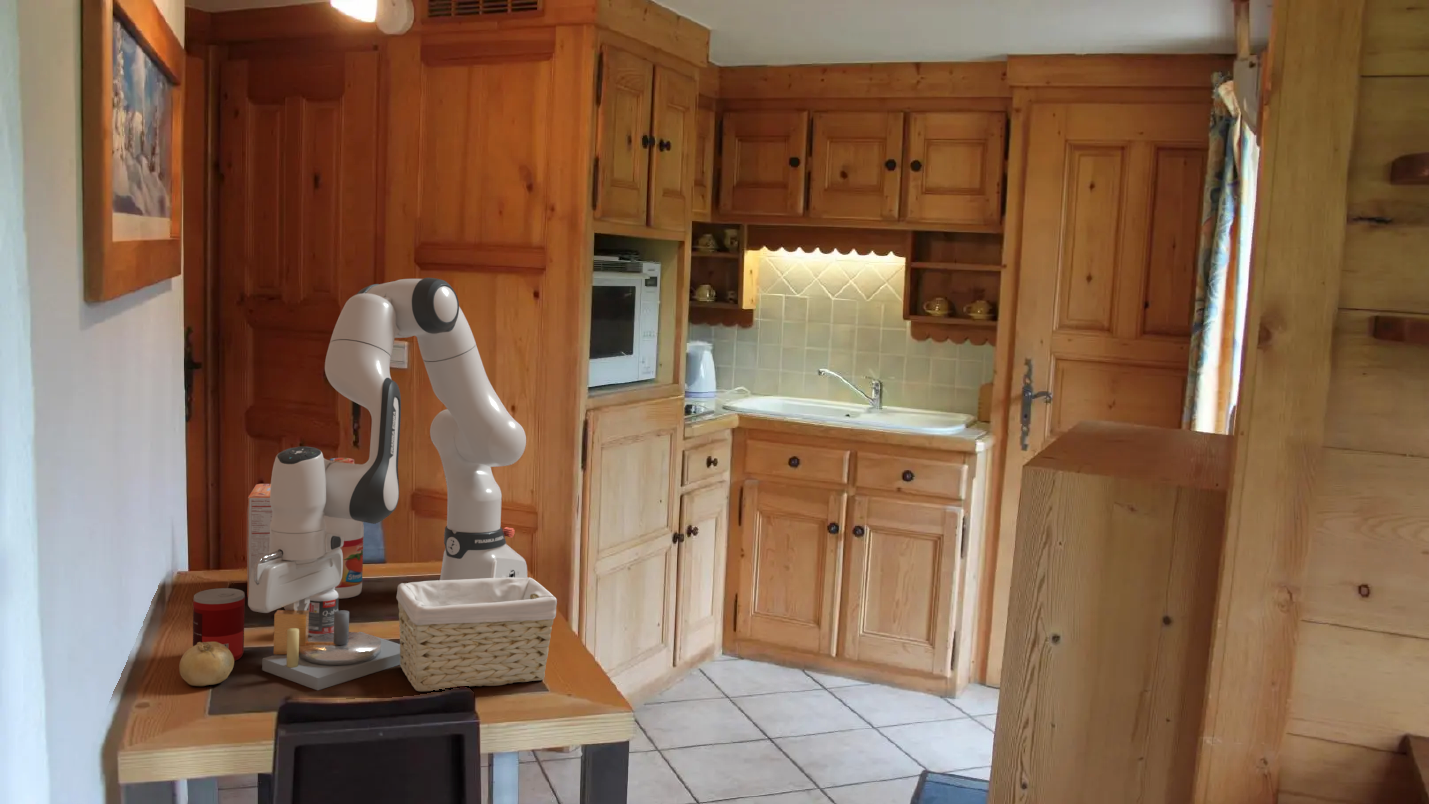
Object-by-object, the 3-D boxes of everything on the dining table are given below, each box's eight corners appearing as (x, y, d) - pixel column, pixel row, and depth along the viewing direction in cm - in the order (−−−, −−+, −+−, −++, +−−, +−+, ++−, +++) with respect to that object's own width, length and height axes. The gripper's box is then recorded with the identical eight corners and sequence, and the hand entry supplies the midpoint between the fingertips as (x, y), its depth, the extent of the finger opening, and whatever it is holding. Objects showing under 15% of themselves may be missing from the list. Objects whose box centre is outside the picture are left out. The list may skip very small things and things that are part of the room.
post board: (360, 642, 202) (361, 593, 201) (414, 660, 194) (416, 608, 194) (262, 670, 185) (263, 616, 184) (317, 690, 178) (319, 634, 177)
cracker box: (253, 580, 238) (255, 482, 237) (283, 580, 240) (286, 483, 238) (244, 598, 225) (246, 495, 223) (276, 597, 227) (278, 495, 225)
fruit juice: (317, 587, 236) (320, 455, 233) (363, 587, 238) (367, 456, 235) (310, 599, 227) (314, 462, 224) (359, 599, 229) (363, 463, 226)
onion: (171, 680, 178) (171, 636, 178) (222, 670, 184) (222, 628, 183) (189, 695, 173) (190, 650, 172) (241, 684, 178) (242, 641, 178)
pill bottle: (326, 639, 203) (328, 585, 202) (298, 635, 204) (299, 581, 203) (343, 630, 208) (345, 577, 208) (315, 626, 210) (316, 574, 209)
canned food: (253, 655, 192) (255, 592, 191) (217, 668, 185) (218, 603, 184) (219, 647, 195) (220, 585, 194) (182, 660, 188) (183, 595, 187)
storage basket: (527, 653, 202) (531, 573, 200) (556, 684, 187) (560, 597, 186) (391, 666, 191) (394, 581, 190) (410, 699, 177) (414, 607, 175)
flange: (283, 639, 194) (284, 601, 194) (385, 640, 197) (386, 602, 196) (266, 664, 182) (267, 623, 181) (375, 665, 184) (376, 624, 184)
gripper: (271, 560, 179) (270, 644, 180) (350, 534, 198) (348, 611, 200) (238, 555, 181) (237, 638, 182) (319, 530, 200) (318, 606, 202)
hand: (296, 624), depth 191 cm, fingers closed
